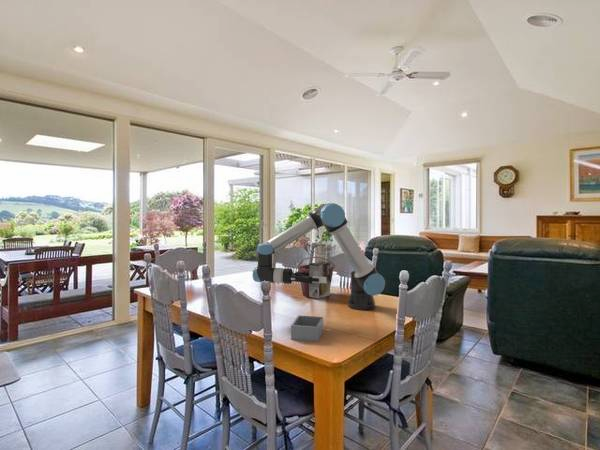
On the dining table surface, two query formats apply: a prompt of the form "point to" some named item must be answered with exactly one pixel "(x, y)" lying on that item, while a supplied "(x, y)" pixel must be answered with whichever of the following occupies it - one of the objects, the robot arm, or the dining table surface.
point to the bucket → (306, 269)
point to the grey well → (307, 328)
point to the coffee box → (319, 271)
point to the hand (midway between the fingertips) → (328, 277)
